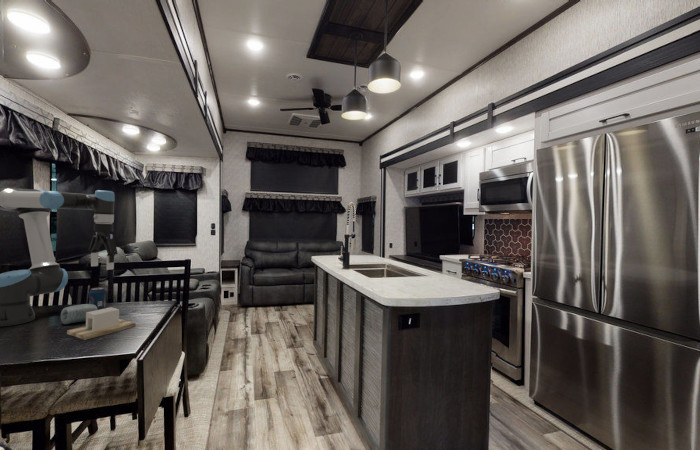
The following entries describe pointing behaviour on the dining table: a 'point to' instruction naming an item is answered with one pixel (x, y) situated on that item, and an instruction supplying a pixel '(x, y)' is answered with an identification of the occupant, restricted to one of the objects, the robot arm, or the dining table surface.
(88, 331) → the wooden peg board
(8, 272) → the robot arm
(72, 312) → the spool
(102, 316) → the white block
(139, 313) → the dining table surface
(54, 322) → the dining table surface
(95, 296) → the soda can
